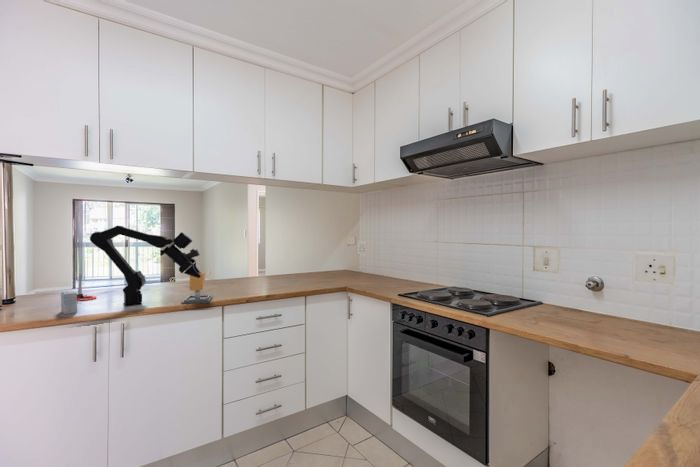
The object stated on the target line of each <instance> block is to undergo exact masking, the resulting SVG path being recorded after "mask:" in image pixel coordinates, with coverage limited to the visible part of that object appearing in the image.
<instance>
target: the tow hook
mask: <svg viewBox="0 0 700 467" xmlns="http://www.w3.org/2000/svg"><path fill="white" fill-rule="evenodd" d="M82 282H83V280H82V274H81V273H79V276H78V289H77V302H85V301H93V300H97V296H96V295H87V294H83V291H82V290H83V289H82V288H83V287H82V284H83V283H82Z"/></svg>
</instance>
